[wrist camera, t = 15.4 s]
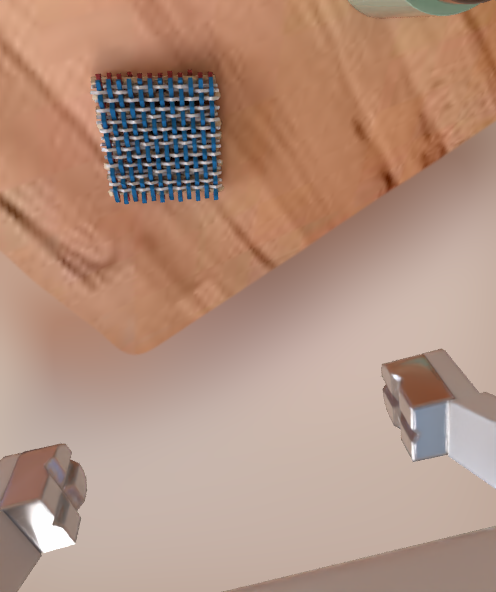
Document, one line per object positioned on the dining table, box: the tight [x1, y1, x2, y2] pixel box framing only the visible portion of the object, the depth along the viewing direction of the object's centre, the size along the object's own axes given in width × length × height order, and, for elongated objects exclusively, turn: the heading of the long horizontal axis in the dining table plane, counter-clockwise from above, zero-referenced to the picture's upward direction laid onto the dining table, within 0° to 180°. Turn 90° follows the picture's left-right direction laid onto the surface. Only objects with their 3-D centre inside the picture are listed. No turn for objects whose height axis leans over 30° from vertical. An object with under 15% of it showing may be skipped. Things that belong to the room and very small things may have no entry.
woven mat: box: [90, 70, 224, 204], centre depth 38 cm, size 10×11×2 cm
